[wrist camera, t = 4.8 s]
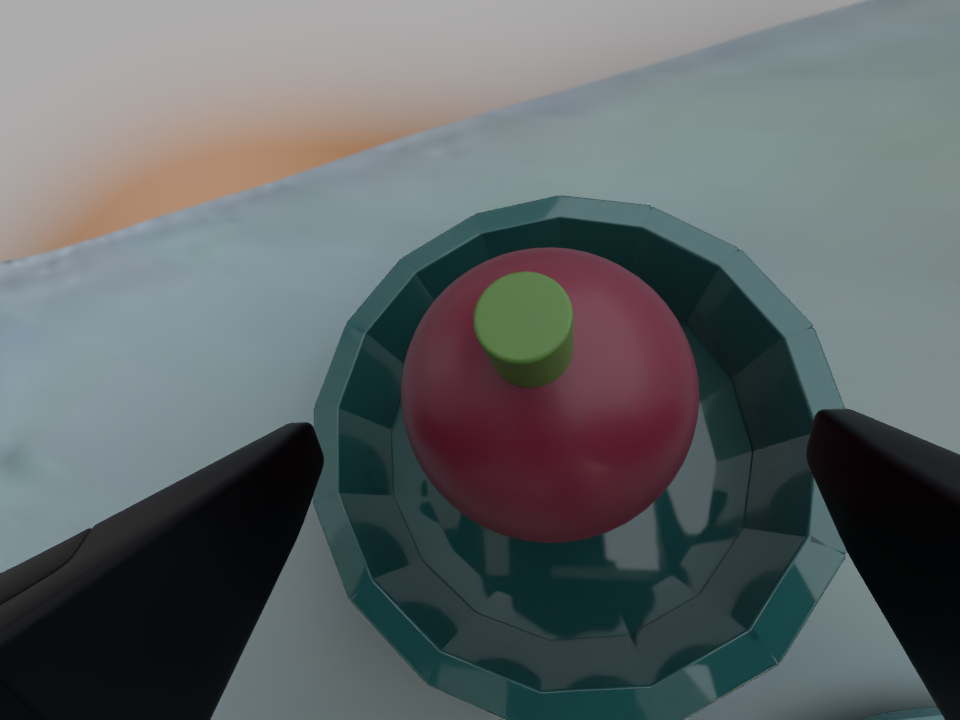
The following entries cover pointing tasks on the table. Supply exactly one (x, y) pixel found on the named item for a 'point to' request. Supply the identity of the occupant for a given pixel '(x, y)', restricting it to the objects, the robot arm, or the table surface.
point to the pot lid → (910, 715)
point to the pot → (613, 555)
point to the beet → (550, 395)
